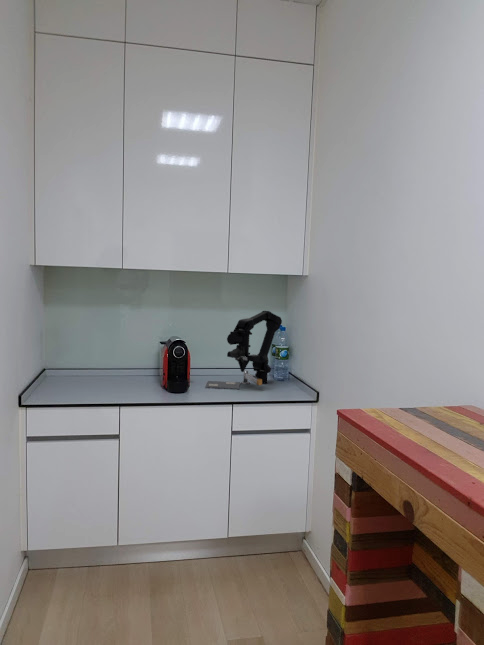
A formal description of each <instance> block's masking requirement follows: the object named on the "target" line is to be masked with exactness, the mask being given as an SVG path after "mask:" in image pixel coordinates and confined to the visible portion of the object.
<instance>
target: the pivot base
mask: <svg viewBox="0 0 484 645" xmlns="http://www.w3.org/2000/svg"><path fill="white" fill-rule="evenodd" d="M250 382H251V381H250ZM250 382H249V381H248V382H246V383H245V382H243V381H242V382H240V385H241V384H242V385H250V384H251V383H250Z"/></svg>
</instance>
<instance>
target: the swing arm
mask: <svg viewBox="0 0 484 645" xmlns="http://www.w3.org/2000/svg"><path fill="white" fill-rule="evenodd" d="M249 381H250V382H252V383H254V384H256V385H257V386H262V385H263V383H262V379H260V378H257V377H255V375H254V374H250V373H249V370H244V372H243V380H242V382H245V383H246V382H249Z"/></svg>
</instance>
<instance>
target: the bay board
mask: <svg viewBox="0 0 484 645" xmlns="http://www.w3.org/2000/svg"><path fill="white" fill-rule="evenodd" d="M240 385H241V382H238V381H217V380H207V382H206V384H205V387H204V388H205V389H215V390H216V389H217V390H218V389H220V390H240Z"/></svg>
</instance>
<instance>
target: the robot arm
mask: <svg viewBox="0 0 484 645" xmlns="http://www.w3.org/2000/svg"><path fill="white" fill-rule="evenodd" d="M264 321H265V327H266V331H265V334H264V337H263V341H262V343H261V346H260V349H259V352H258V353H257V354H251V352H250V348H251V344H250V335H251V336H252V335H253V333H252V332H251V330H253V329H254V327H255V326H256V325H258V324H260V323H261V322H264ZM282 322H283V320H282V317H281V316H279V315H276V314H275V313H273V312H272V311H270V310H262V311H261V312H258V313H257V314H255V315H253V316H251V317H249V318H242V319H239V320H238V321H237V323H236V326H235V327H234V329H233V331H230V332H229V334H228V335H227V337H226V341H227V343H228V344H229V345H230V346H231V345H236V347H235V348H234V349H232V350H231V351H230V350H229V351H227V355H226V356H227V357H228V358H232V359H234V360H235V361H237V363H238V365H239V368H240V371H241V372H242V373H244V371H246V368H247V367H248V364H249V363H250V362H251V364H252V369H253V371H254V372H256V373H255V374H254V376H255V377H257V378H260V379H262V384H265V385H267V384H268V374H270V373H271V371H272V367H271V366H270V365H269V357H268V356H269V352H270V349H271V346H272V343H273V340H274V337H275V334H276V332H277V331H278V330H279V329H280V327H281V326H282Z"/></svg>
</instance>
